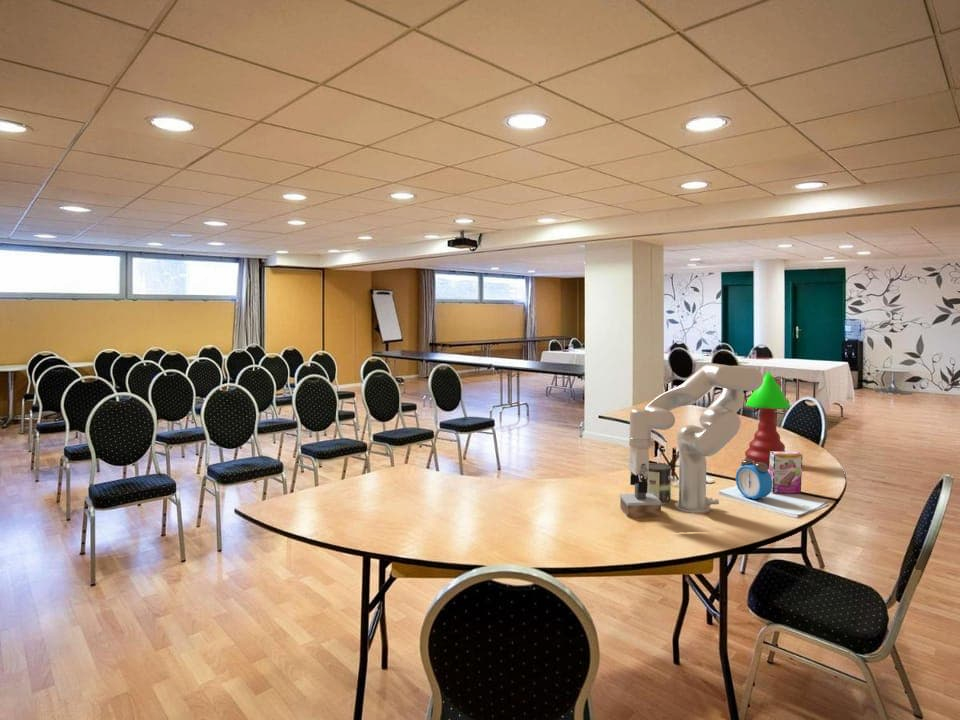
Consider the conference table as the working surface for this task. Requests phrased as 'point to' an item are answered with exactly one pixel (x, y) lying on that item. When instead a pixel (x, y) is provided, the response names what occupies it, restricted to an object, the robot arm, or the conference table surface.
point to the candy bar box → (786, 472)
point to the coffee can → (660, 481)
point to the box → (640, 510)
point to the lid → (640, 498)
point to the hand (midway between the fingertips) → (638, 488)
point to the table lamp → (766, 421)
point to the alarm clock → (753, 479)
